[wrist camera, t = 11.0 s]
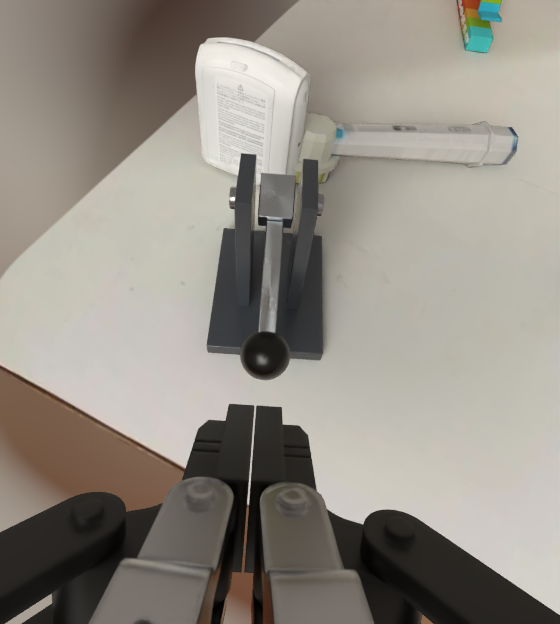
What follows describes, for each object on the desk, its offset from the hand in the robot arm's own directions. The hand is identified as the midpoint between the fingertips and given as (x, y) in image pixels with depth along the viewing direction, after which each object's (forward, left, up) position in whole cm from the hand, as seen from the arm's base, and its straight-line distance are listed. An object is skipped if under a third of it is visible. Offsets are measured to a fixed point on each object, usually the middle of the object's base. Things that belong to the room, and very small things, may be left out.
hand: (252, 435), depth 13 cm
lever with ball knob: (0, +14, -12) cm, 18 cm away
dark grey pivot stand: (0, +18, -19) cm, 26 cm away
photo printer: (-2, +33, -19) cm, 38 cm away
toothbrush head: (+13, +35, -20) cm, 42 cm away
